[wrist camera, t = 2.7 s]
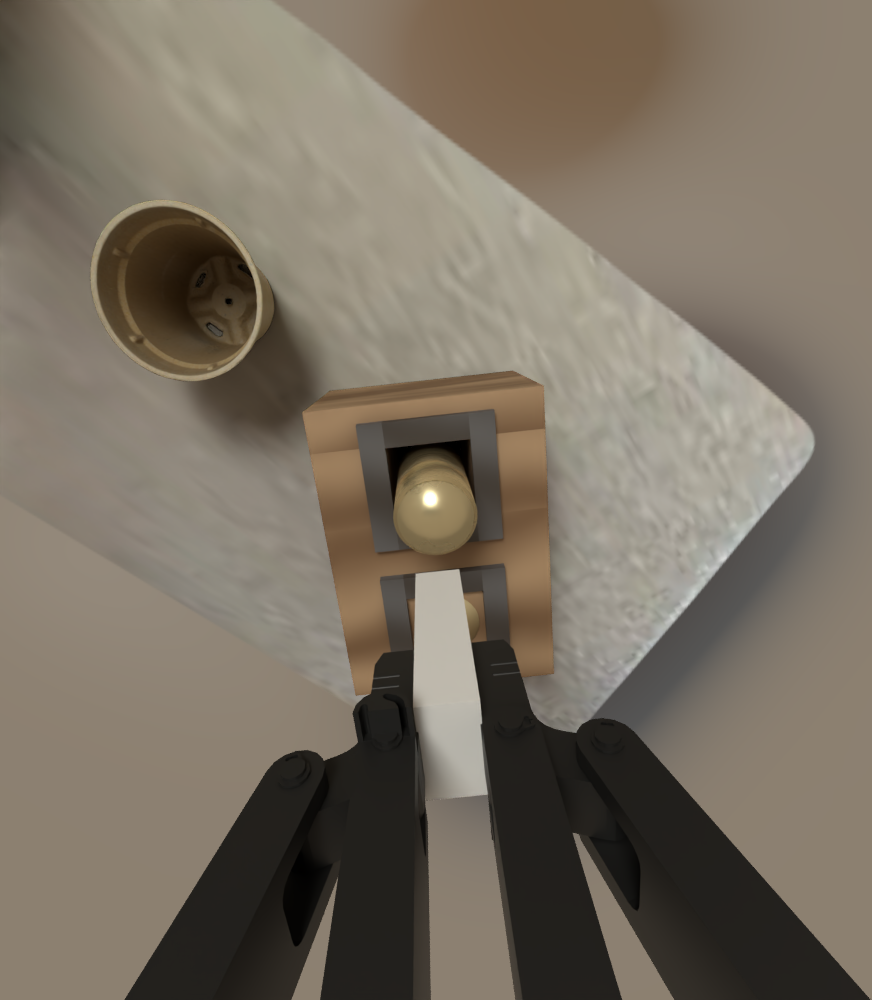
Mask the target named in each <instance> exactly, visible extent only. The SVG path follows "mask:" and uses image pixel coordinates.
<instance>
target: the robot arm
mask: <svg viewBox="0 0 872 1000" xmlns="http://www.w3.org/2000/svg"><path fill="white" fill-rule="evenodd" d="M353 717H354V722H355V728H356V733H357V738H358V743H357V744H356V745H355V746H354V747H353V748H351V749H350V750H348V751H347V752H345V753H343V754H340V755H338V756H336V757H333V758H330V759H327V760H325V761H323V758H321V756H320V755H318V754H317V753H315V752H312V751H308V750H304V751H295V752H293V753H290V754H287V755H285V756H283V757H282V758H280V759H278V760H277V761H276V762H274V763H273V765H272V766H271V767H270V768H269V769H268V770H267V772H266V773H265V775H264V776H263V778H262V780H261V781H260V783H259V785H258V786H257V788H256V789H255V791H254V793H253V794H252V796H251V797H250V799H249V801H248V802H247V804H246V805H245V807H244V809H243V810H242V812H241V813H240V815H239V817H238V818H237V820H236V821H235V823H234V825H233V826H232V828H231V830H230V831H229V833H228V834H227V836H226V838H225V839H224V841H223V842H222V844H221V846H220V847H219V849H218V850H217V852H216V854H215V855H214V857H213V858H212V860H211V862H210V863H209V865H208V867H207V868H206V870H205V871H204V873H203V874H202V876H201V878H200V879H199V881H198V882H197V884H196V886H195V887H194V889H193V891H192V892H191V894H190V895H189V897H188V899H187V900H186V902H185V903H184V905H183V907H182V908H181V910H180V911H179V913H178V915H177V916H176V918H175V919H174V921H173V923H172V925H171V926H170V927H169V929H168V931H167V932H166V934H165V936H164V937H163V939H162V941H161V942H160V944H159V945H158V947H157V949H156V950H155V952H154V953H153V955H152V957H151V958H150V960H149V961H148V963H147V964H146V966H145V968H144V970H143V971H142V972H141V974H140V976H139V977H138V979H137V981H136V982H135V984H134V985H133V987H132V989H131V990H130V992H129V993H128V995H127V997H126V998H125V1000H291V999H292V996H293V994H294V991H295V988H296V986H297V983H298V980H299V978H300V975H301V972H302V970H303V967H304V964H305V962H306V959H307V956H308V954H309V951H310V949H311V946H312V943H313V941H314V938H315V936H316V933H317V930H318V928H319V925H320V922H321V920H322V917H323V915H324V912H325V909H326V906H327V904H328V901H329V898H330V896H331V893H332V891H333V888H334V886H335V883H336V880H337V878H338V882H337V890H336V896H335V903H334V910H333V916H332V923H331V930H330V937H329V943H328V951H327V957H326V964H325V972H324V977H323V984H322V991H321V998H320V1000H431V990H430V936H429V935H430V932H429V875H428V821H427V814H426V808H425V797H426V801H428V800H438V799H447V798H457V797H468V796H478V795H487V794H488V798H489V811H490V822H491V833H492V840H493V841H494V848H495V855H496V863H497V870H498V877H499V884H500V892H501V899H502V906H503V912H504V920H505V927H506V934H507V941H508V949H509V956H510V963H511V971H512V978H513V985H514V992H515V999H516V1000H622V998H621V995H620V991H619V988H618V985H617V982H616V978H615V975H614V971H613V968H612V965H611V961H610V958H609V954H608V951H607V948H606V945H605V941H604V938H603V935H602V931H601V928H600V924H599V921H598V918H597V914H596V911H595V907H594V904H593V901H592V898H591V894H590V891H589V887H588V884H587V881H586V877H585V874H584V871H583V867H582V864H581V860H580V857H579V854H578V850H577V847H576V844H575V840H574V837H573V833H577V834H579V835H580V838H581V841H582V842H583V844H584V846H585V848H586V849H587V851H588V853H589V854H590V856H591V858H592V860H593V861H594V863H595V865H596V866H597V868H598V870H599V871H600V873H601V875H602V877H603V878H604V880H605V881H606V883H607V885H608V887H609V889H610V890H611V892H612V894H613V895H614V897H615V899H616V901H617V902H618V904H619V906H620V907H621V909H622V911H623V912H624V914H625V916H626V918H627V919H628V921H629V923H630V925H631V926H632V928H633V930H634V931H635V933H636V935H637V937H638V938H639V940H640V942H641V943H642V945H643V947H644V949H645V950H646V952H647V954H648V955H649V957H650V959H651V961H652V962H653V964H654V965H655V967H656V969H657V971H658V973H659V974H660V976H661V978H662V979H663V981H664V983H665V985H666V986H667V988H668V990H669V991H670V993H671V995H672V996H673V998H674V1000H870V999H869V997H868V996H867V995H866V994H865V993H864V992H863V991H862V990H861V988H860V987H859V986H858V985H857V984H856V983H855V982H854V981H853V979H852V978H851V977H850V976H849V975H848V974H847V973H846V971H845V970H844V969H843V968H842V967H841V966H840V965H839V963H838V962H837V961H836V960H835V959H834V958H833V957H832V956H831V954H830V953H829V952H828V951H827V950H826V949H825V948H824V946H823V945H821V943H820V942H819V941H818V940H817V939H816V938H815V936H814V935H813V934H812V933H811V932H810V931H809V929H808V928H807V927H806V926H805V925H804V924H803V923H802V922H801V920H800V919H799V918H798V917H797V916H796V915H795V914H794V912H793V911H792V910H791V909H790V908H789V907H788V906H787V905H786V903H785V902H784V901H783V900H782V899H781V898H780V897H779V895H778V894H777V893H776V892H775V891H774V890H773V889H772V888H771V886H770V885H769V884H768V883H767V882H766V881H765V880H764V878H763V877H762V876H761V875H760V874H759V873H758V872H757V871H756V869H755V868H754V867H753V866H752V865H751V864H750V863H749V862H748V860H747V859H746V858H745V857H744V856H743V855H742V854H741V852H740V851H739V850H738V849H737V848H736V847H735V846H734V845H733V844H732V842H731V841H730V840H729V839H728V838H727V837H726V835H725V834H724V833H723V832H722V831H721V830H720V829H719V827H718V826H717V825H716V824H715V823H714V822H713V821H712V820H711V818H710V817H709V816H708V815H707V814H706V813H705V812H704V810H703V809H702V808H701V807H700V806H699V805H698V804H697V802H696V801H695V800H694V799H693V798H692V797H691V796H690V795H689V793H688V792H687V791H686V790H685V789H684V788H683V787H682V785H681V784H680V783H679V782H678V781H677V780H676V779H675V778H674V776H672V774H671V773H670V772H669V771H668V770H667V768H666V767H665V766H664V765H663V764H662V763H661V762H660V761H659V760H658V758H657V757H656V756H655V755H654V754H653V753H652V752H651V751H650V749H649V748H648V747H647V746H646V745H645V744H644V742H643V741H642V740H641V739H640V738H639V737H638V736H637V734H635V732H634V731H632V730H631V729H630V728H629V727H628V726H626V725H625V724H622V723H620V722H618V721H615V720H611V719H604V718H600V719H592V720H589V721H587V722H585V723H584V724H582V725H581V726H580V728H579V729H578V730H577V733H572V732H566V731H561V730H556V729H553V728H551V727H548V726H546V725H544V724H543V723H542V722H540V721H539V720H538V719H537V718H536V716H535V715H534V714H533V712H532V710H531V707H530V704H529V700H528V697H527V693H526V690H525V687H524V683H523V680H522V676H521V673H520V669H519V666H518V663H517V659H516V655H515V652H514V649H513V648H512V647H511V646H510V645H509V644H508V643H507V642H506V641H505V640H504V639H501V640H491V641H481V642H472V643H471V640H470V634H469V628H468V622H467V615H466V609H465V603H464V597H463V590H462V584H461V578H460V572H459V569H456V570H446V571H437V572H427V573H418V574H416V581H415V631H414V650H406V651H396V652H387V653H383V654H382V655H381V657H380V658H379V660H378V661H377V662H376V664H375V667H374V675H373V682H372V690H371V694H370V695H368V696H366V697H364V698H363V699H362V700H361V701H360V702H359V703H357V704H356V706H355V709H354V711H353Z"/></svg>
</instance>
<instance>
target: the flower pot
mask: <svg viewBox="0 0 872 1000" xmlns="http://www.w3.org/2000/svg"><path fill="white" fill-rule="evenodd" d="M240 264H242V265H246V266H248V268H249V270H250V272H251V274H252V277H253V278H252V277H250V276H249V275H248V274H246V273H245V272H244V271H242V270H241V269H239V265H240ZM202 274H206V276H205V278H204V283H202V284H201V285H200V287H197V286H196V284H197V281H198V279H199V277H200V276H201V275H202ZM90 281H91V291H92V296H93V300H94V304H95V308H96V310H97V313H98V315H99V317H100V320H101V321H102V324H103V326H104V327H105V329H106V331H107V332H108V334H109V335H110V337H111V338H112V340H113V341H114V342H115V343H116V345H117V346H118V347H119V348H120V349H121V350H122V351H123V352H124V353H125V354H126V355H127V356H128V357H129V358H131V359H132V360H133V361H135V362H136V363H137V364H139V365H140V366H142V367H143V368H145V369H147V370H149V371H151V372H153V373H155V374H157V375H160V376H163V377H166V378H170V379H175V380H180V381H201V380H207V379H211V378H214V377H217V376H219V375H222V374H224V373H226V372H228V371H229V370H231V369H232V368H234V367H235V366H236V365H237V364H239V363H240V362H241V361H242V360H243V359H244V358H245V356H246V355H247V354H248V353H249V352H250V350H251V348H252V347H253V345H254V343H255V342H256V341H257V340H259V339H260V338H261V337H262V336H263V335H264V334H265V333H266V331H267V330H268V328H269V326H270V324H271V322H272V318H273V314H274V300H273V294H272V291H271V288H270V285H269V283H268V281H267V279H266V277H265V276H264V275H263V273H262V272H261V271H260V270H259V269H258V268H257V267H256V266H255V264H254V262H253V260H252V258H251V256H250V254H249V252H248V251H247V249H246V248H245V246H244V245H243V243H242V242H241V241H240V239H239V238H238V237H237V236H236V235H235V234H234V232H233V231H231V230H230V229H229V228H228V227H227V226H226V225H225V224H224V223H223V222H221V221H220V220H219V219H217V218H216V217H214V216H213V215H211V214H209V213H207V212H206V211H204V210H202V209H200V208H197V207H195V206H192V205H190V204H187V203H183V202H178V201H172V200H153V201H146V202H142V203H139V204H135V205H133V206H130V207H129V208H127V209H125V210H123V211H122V212H120V213H119V214H118V215H117V216H115V217H114V218H113V219H112V220H111V221H110V222H109V223H108V224H107V226H106V227H105V229H104V230H103V231H102V232H101V235H100V237H99V238H98V240H97V242H96V246H95V249H94V253H93V256H92V261H91V268H90ZM228 298H230V299H231V300H232V303H231V304H227V303H226V299H228ZM208 323H211V324H213V325H214V326H215V327H217V328H218V329H220V330H222V331H223V333H222V335H221V336H217V335H215V334H214V333H213V332H212V331H211V330H210V329H208V327H207V324H208Z"/></svg>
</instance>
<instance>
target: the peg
mask: <svg viewBox="0 0 872 1000" xmlns="http://www.w3.org/2000/svg"><path fill="white" fill-rule="evenodd" d="M477 517H478V515H477V506H476V503H475V500H474V497H473V494H472V491H471V488H470V485H469V482H468V479H467V475H466V472H465V469H464V466H463V463H462V460H461V458H460V456H459V455H458V453H457V452H456V451H455V450H454V449H453V448H452V447H450V446H449V445H447V444H445V443H442V442H439V443H430V444H421V445H414V446H412V447H411V448H410V449H409V450H408V451H407V452H406V453H405V454H404V456H403V457H402V459H401V462H400V465H399V471H398V479H397V487H396V496H395V504H394V512H393V520H394V526H395V529H396V531H397V533H398V535H399V537H400V538H401V539H402V541H403V542H404V543H405V544H406V545H408V546H409V547H410V548H412V549H413V550H415V551H417V552H420V553H423V554H428V555H442V554H447V553H450V552H452V551H455V550H456V549H458V548H460V547H461V546H462V545H464V544H465V543H466V542H467V541H468V540H469V538H470V537H471V536H472V534H473V532H474V530H475V527H476V524H477Z"/></svg>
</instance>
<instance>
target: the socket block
mask: <svg viewBox="0 0 872 1000" xmlns="http://www.w3.org/2000/svg"><path fill="white" fill-rule="evenodd" d="M302 414H303V420H304V425H305V430H306V435H307V441H308V446H309V451H310V456H311V462H312V467H313V472H314V478H315V483H316V488H317V493H318V499H319V504H320V509H321V514H322V520H323V525H324V530H325V536H326V541H327V546H328V551H329V557H330V562H331V567H332V572H333V578H334V583H335V588H336V594H337V599H338V604H339V609H340V615H341V620H342V625H343V630H344V636H345V641H346V646H347V652H348V657H349V662H350V667H351V673H352V678H353V683H354V688H355V694H356V696H357V695H366V694H371V690H372V682H373V675H374V667H375V664H376V662H377V661H378V660H379V658H380V657H381V655H382V654H383V653H387V652H396V651H406V650H414V631H415V581H416V574H418V573H427V572H437V571H446V570H456V569H459V572H460V578H461V584H462V590H463V597H464V603H465V609H466V615H467V622H468V628H469V634H470V640H471V643H472V642H481V641H491V640H501V639H504V640H505V641H506V642H507V643H508V644H509V645H510V646H511V647H512V648H513V649H514V652H515V655H516V659H517V663H518V666H519V669H520V673H521V676H522V677H529V676H538V675H547V674H554V665H553V637H552V608H551V580H550V552H549V523H548V495H547V467H546V439H545V410H544V386H543V385H541V384H539V383H537V382H535V381H533V380H531V379H529V378H527V377H525V376H523V375H521V374H519V373H517V372H514V371H506V372H497V373H488V374H479V375H470V376H461V377H452V378H443V379H434V380H425V381H416V382H407V383H398V384H389V385H380V386H371V387H362V388H352V389H343V390H334V391H329V392H328V393H327V394H325V395H324V396H323V397H321V398H320V399H319V400H318V401H316V402H315V403H314V404H312V405H311V406H310V407H309V408H307V409H306V410H305V411H303V412H302ZM457 440H460V448H461V459H462V463H463V466H464V469H465V472H466V475H467V479H468V482H469V485H470V488H471V491H472V494H473V497H474V500H475V503H476V506H477V515H478V517H477V524H476V527H475V530H474V532H473V534H472V536H471V537H470V538H469V540H468V541H467V542H466V543H465V544H464V545H462V546H461V547H460V548H458V549H456V550H455V551H452V552H450V553H447V554H442V555H428V554H423V553H420V552H417V551H415V550H413V549H412V548H410V547H409V546H408V545H406V544H405V543H404V542H403V541H402V539H401V538H400V537H399V535H398V533H397V531H396V529H395V526H394V520H393V512H394V504H395V496H396V487H397V479H398V471H399V459H398V451H397V447H403V446H412V445H421V444H430V443H439V442H448V441H457Z"/></svg>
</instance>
